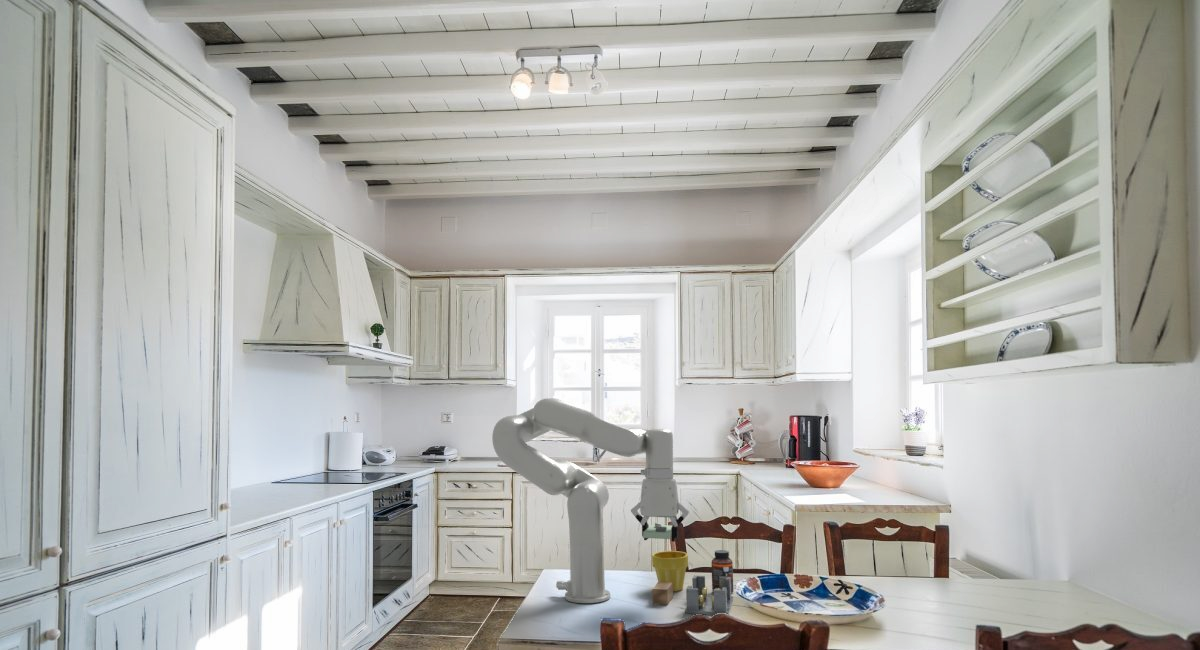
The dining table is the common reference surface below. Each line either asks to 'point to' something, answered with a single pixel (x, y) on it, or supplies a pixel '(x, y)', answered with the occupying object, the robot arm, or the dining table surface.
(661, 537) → the board
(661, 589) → the wooden block
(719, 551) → the supplement bottle
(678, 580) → the plant pot
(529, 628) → the dining table surface
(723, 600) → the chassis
